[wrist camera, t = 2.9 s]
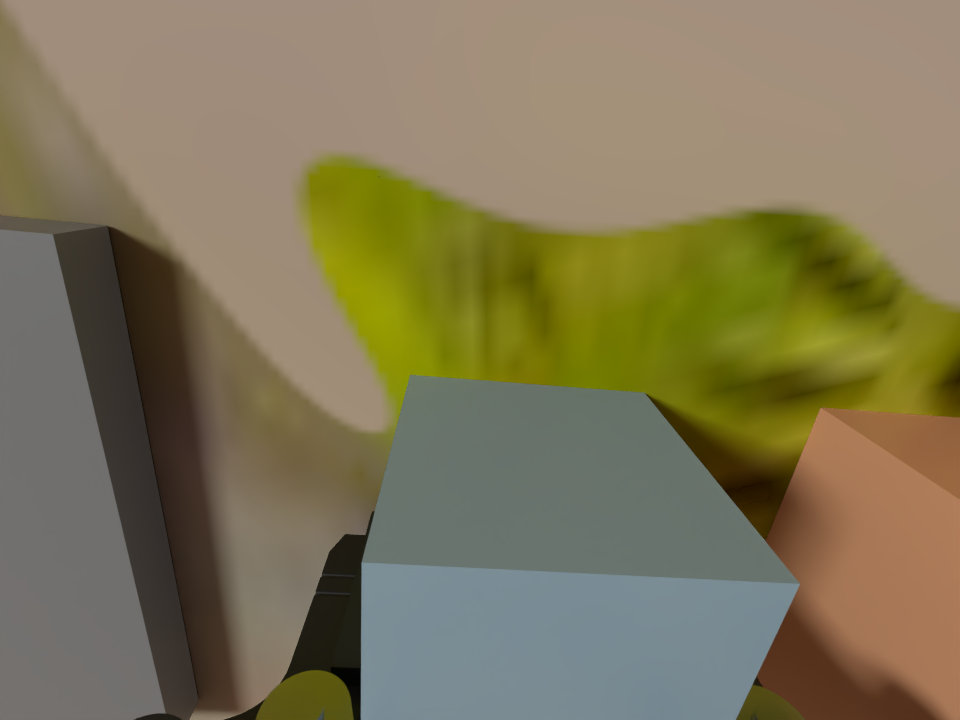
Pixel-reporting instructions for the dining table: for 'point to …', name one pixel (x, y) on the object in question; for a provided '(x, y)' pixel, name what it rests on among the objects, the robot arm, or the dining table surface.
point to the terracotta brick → (871, 570)
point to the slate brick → (558, 564)
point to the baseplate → (79, 495)
